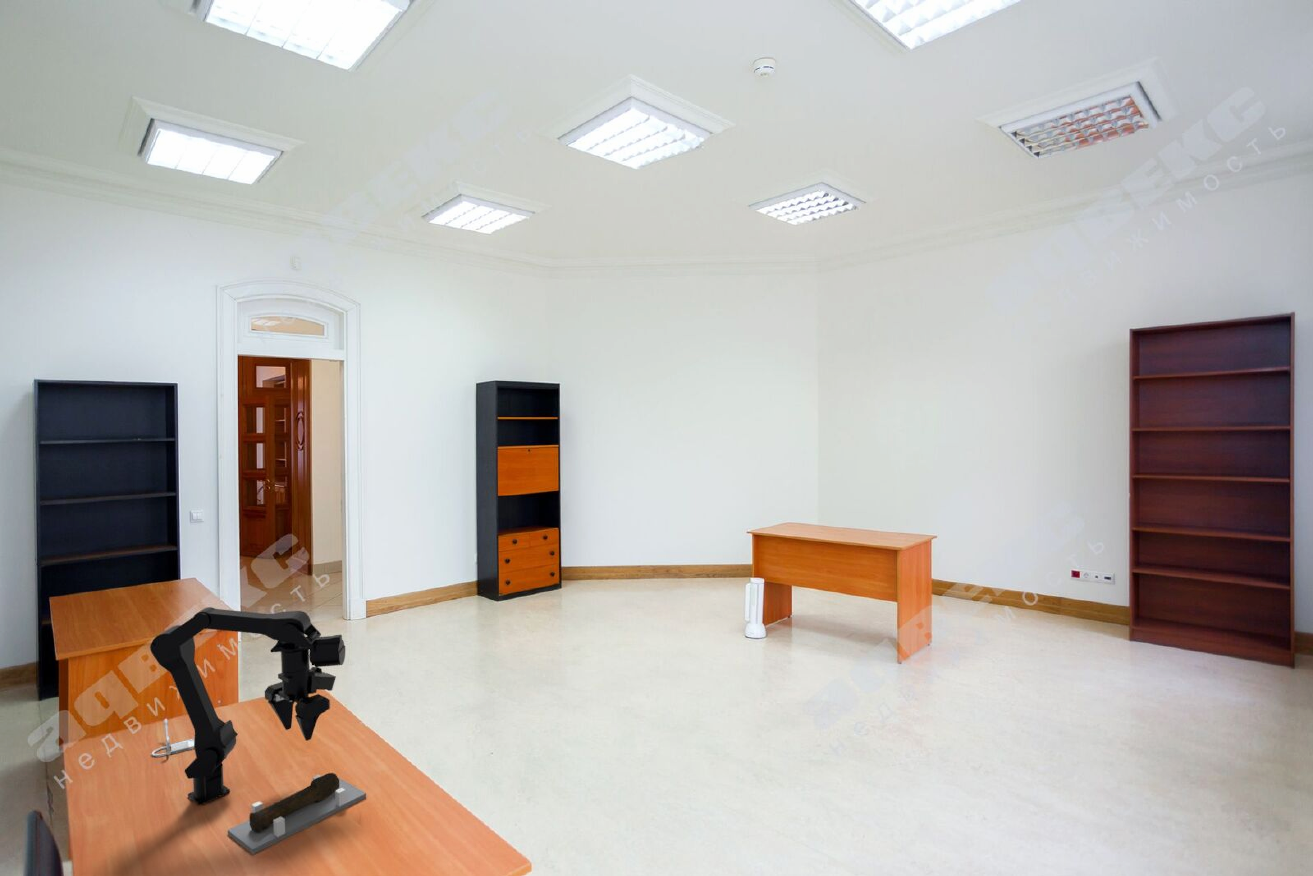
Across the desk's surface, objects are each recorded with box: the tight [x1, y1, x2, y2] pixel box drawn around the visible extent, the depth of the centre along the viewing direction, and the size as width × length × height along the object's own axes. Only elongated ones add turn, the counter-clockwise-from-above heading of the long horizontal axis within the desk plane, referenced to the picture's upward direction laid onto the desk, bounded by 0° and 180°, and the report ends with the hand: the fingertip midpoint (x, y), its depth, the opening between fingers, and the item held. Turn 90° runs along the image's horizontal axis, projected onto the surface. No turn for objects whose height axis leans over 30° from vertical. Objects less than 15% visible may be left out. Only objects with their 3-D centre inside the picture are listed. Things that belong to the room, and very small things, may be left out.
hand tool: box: [248, 772, 340, 833], centre depth 149 cm, size 19×4×5 cm, turn 145°
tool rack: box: [227, 774, 367, 855], centre depth 149 cm, size 11×24×4 cm, turn 144°
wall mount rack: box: [151, 718, 195, 757], centre depth 182 cm, size 16×14×6 cm
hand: (298, 734), depth 160 cm, fingers open, 9 cm apart
